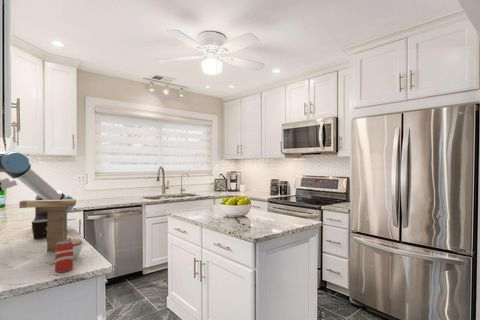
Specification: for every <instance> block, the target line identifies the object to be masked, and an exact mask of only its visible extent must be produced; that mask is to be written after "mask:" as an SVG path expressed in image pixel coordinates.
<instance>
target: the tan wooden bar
mask: <svg viewBox="0 0 480 320" xmlns="http://www.w3.org/2000/svg"><path fill="white" fill-rule="evenodd" d="M18 204H19V209H25V208H26V209H27V208H31V209H32V208H35V207H59V206H73V207H75V206H77V198H73V199H67V200H35V199H34V200H21V201H19V203H18Z"/></svg>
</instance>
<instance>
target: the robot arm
mask: <svg viewBox="0 0 480 320" xmlns="http://www.w3.org/2000/svg"><path fill="white" fill-rule="evenodd" d="M0 173H5V174H7V175H8V176H9V177H10V178H12V179H18V181H20V182H21V183H23V185H25V186H26V187H27V188H29V189H30V190H31V191H32V192H33V193H35V194H36V196H35V199H34V200H67V199H74V198H73V196H70V195H65V194H64V193H63V192H62V191H61V190H56V189H55V188H54V187H52V186H51V185H50V184H49V183H48V182H47V181H45V179H43V178H42V177H41V176H40V175H39V174H38V173H37V172H35V170H33V169H32V164H31V163H30V160H29V157H28V156H27V155H26V154H25V153H23V152H19V151H0ZM9 177H6V178H4V179H1V180H0V192H3V191H4V190H7V189H9V188H13V187H15V186H18V183H17V182H16V180H10V179H9ZM39 208H40V207H34V209H35V213H34V214H35V216H34V219H33V221H35V220H42V219H47V217H48V212H39ZM72 209H74V206H69V208H68V209H67V214H68V213H70V212H71V211H72ZM31 229H32V230H33V228H32V227H31Z"/></svg>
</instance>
